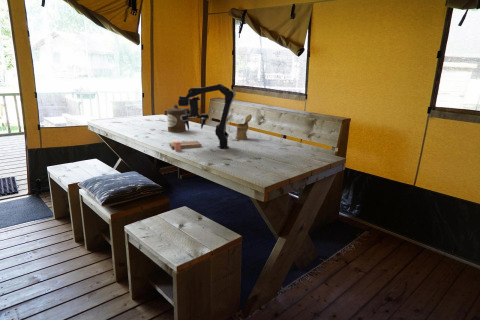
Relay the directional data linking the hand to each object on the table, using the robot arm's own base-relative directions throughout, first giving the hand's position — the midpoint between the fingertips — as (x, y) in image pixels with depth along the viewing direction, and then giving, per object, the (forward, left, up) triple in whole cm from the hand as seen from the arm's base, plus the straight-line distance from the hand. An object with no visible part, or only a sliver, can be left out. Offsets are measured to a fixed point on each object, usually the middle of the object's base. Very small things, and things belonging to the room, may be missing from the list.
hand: (195, 129), depth 230 cm
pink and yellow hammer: (-3, +14, -12) cm, 18 cm away
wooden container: (+55, +2, -12) cm, 57 cm away
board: (+1, +7, -12) cm, 14 cm away
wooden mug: (+11, -41, -12) cm, 44 cm away
